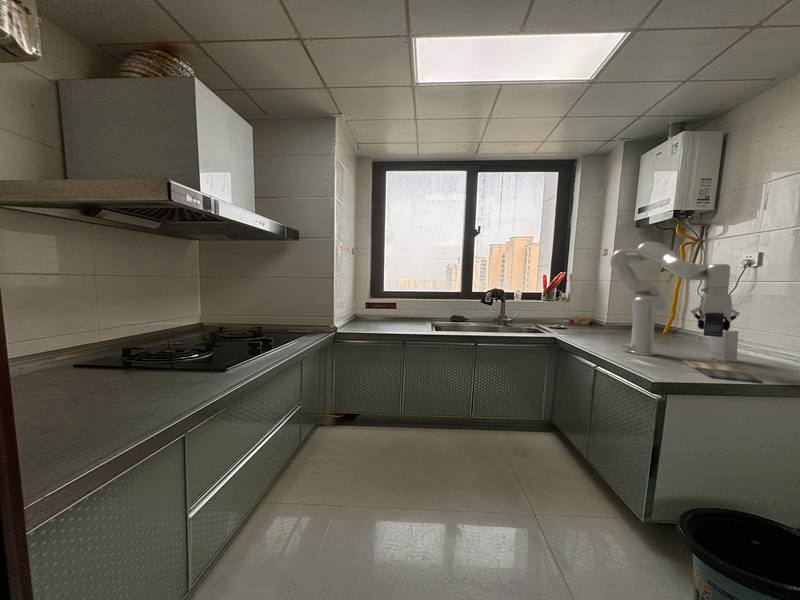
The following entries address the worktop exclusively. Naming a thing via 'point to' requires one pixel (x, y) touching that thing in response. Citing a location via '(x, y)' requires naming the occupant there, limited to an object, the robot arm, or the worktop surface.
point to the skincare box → (724, 346)
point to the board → (721, 371)
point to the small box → (713, 324)
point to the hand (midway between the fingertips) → (713, 329)
